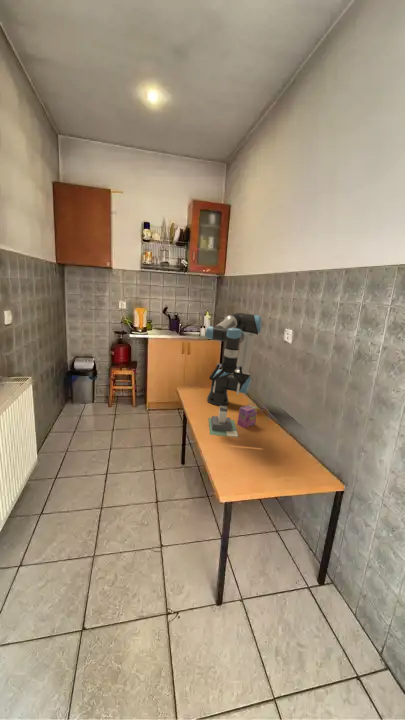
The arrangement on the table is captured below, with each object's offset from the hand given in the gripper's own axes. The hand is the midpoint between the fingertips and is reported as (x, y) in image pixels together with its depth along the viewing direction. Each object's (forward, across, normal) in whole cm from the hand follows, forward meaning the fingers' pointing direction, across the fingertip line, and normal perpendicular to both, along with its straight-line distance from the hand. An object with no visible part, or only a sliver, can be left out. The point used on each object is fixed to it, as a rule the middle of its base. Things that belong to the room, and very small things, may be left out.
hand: (225, 392), depth 168 cm
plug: (+21, 0, 0) cm, 21 cm away
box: (+22, +16, +6) cm, 28 cm away
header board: (+22, +1, 0) cm, 22 cm away
